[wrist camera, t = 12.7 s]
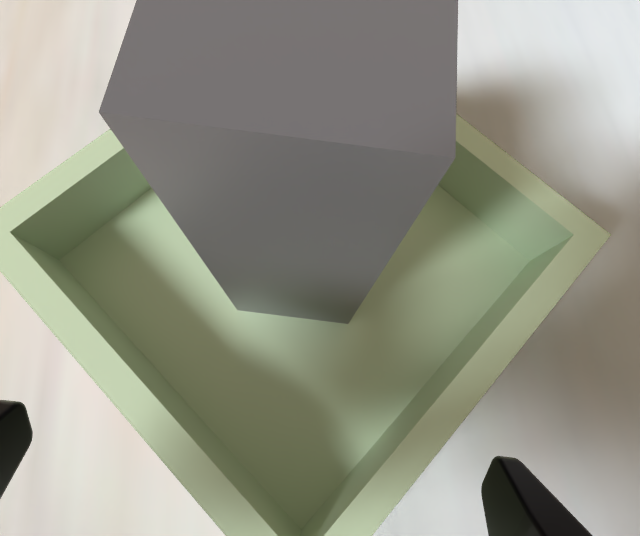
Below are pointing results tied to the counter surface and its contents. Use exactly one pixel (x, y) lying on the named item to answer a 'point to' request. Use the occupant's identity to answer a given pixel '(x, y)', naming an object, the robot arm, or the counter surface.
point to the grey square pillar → (290, 136)
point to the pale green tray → (294, 335)
